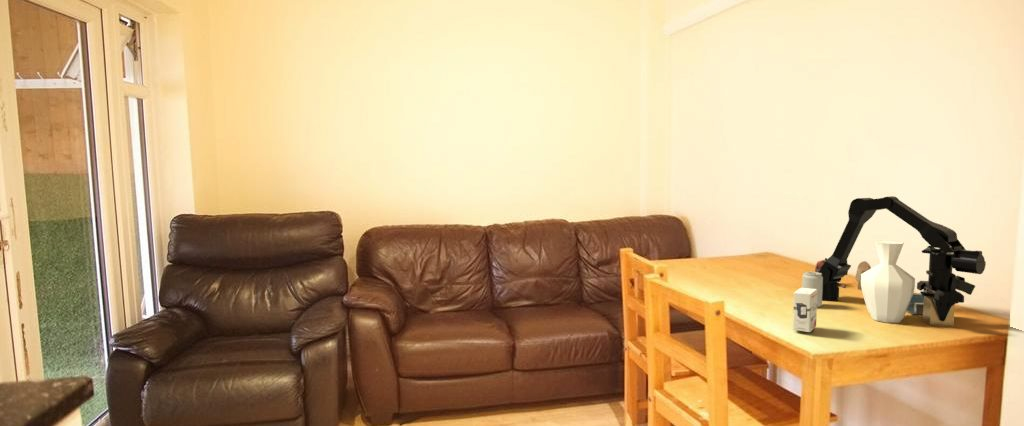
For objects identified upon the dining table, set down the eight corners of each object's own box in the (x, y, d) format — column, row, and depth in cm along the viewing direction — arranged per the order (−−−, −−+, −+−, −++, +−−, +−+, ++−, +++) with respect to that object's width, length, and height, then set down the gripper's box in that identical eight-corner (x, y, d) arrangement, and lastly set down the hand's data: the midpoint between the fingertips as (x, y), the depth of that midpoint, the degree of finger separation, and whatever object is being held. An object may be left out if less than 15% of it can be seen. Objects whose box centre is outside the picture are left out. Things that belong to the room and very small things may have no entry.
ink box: (799, 323, 173) (800, 286, 172) (816, 326, 170) (818, 288, 169) (792, 329, 166) (793, 291, 165) (810, 332, 163) (811, 293, 162)
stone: (856, 292, 216) (867, 294, 214) (862, 269, 214) (873, 271, 212) (853, 280, 232) (864, 283, 230) (859, 259, 230) (869, 261, 228)
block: (930, 325, 170) (931, 299, 169) (922, 320, 175) (923, 295, 175) (953, 326, 168) (954, 301, 167) (945, 321, 173) (946, 296, 173)
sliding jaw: (876, 301, 196) (877, 292, 196) (874, 300, 198) (875, 291, 198) (935, 305, 190) (935, 295, 190) (932, 303, 193) (932, 294, 192)
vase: (914, 328, 167) (918, 246, 165) (859, 321, 174) (862, 243, 172) (910, 317, 179) (914, 241, 177) (859, 311, 186) (862, 238, 184)
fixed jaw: (916, 313, 180) (916, 304, 180) (913, 312, 182) (914, 302, 182) (952, 316, 177) (953, 306, 177) (950, 314, 179) (950, 304, 179)
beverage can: (819, 304, 196) (820, 271, 195) (823, 309, 190) (824, 274, 189) (799, 303, 198) (800, 270, 197) (803, 307, 192) (804, 273, 191)
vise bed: (912, 315, 181) (912, 313, 181) (896, 304, 196) (896, 302, 196) (952, 318, 177) (952, 316, 177) (932, 306, 192) (932, 304, 192)
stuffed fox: (846, 291, 216) (847, 261, 215) (814, 288, 222) (815, 259, 221) (846, 288, 223) (847, 258, 222) (814, 285, 228) (815, 256, 228)
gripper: (987, 275, 159) (984, 328, 160) (958, 265, 176) (955, 312, 177) (941, 273, 162) (938, 325, 163) (917, 263, 180) (915, 310, 181)
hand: (937, 318), depth 171 cm, fingers closed on block, 6 cm apart
